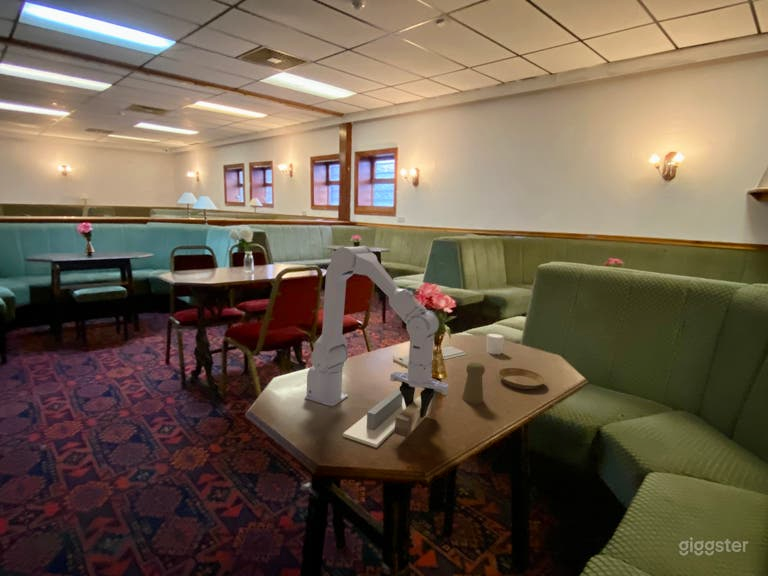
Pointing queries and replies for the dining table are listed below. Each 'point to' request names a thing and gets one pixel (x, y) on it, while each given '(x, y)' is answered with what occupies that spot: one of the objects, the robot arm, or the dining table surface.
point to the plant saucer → (511, 373)
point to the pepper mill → (474, 383)
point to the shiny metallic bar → (411, 417)
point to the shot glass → (494, 343)
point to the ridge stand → (378, 421)
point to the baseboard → (447, 352)
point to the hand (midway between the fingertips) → (416, 414)
